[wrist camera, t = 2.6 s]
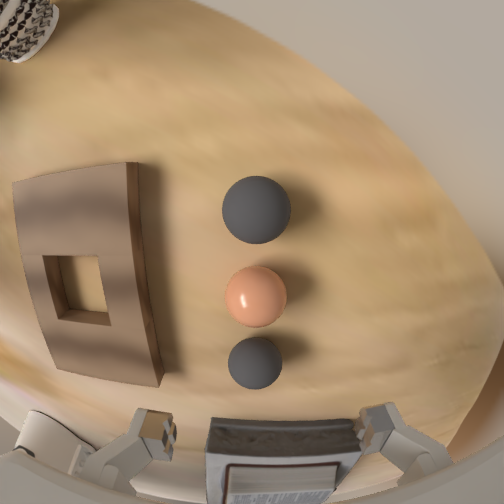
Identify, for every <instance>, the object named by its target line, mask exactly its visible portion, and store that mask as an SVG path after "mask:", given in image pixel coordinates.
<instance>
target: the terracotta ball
mask: <svg viewBox="0 0 504 504" xmlns="http://www.w3.org/2000/svg"><path fill="white" fill-rule="evenodd" d="M286 301H287V293H286V288H285V285H284V283H283V281H282V280H281V278H280V277H279V276H278V275H277V274H276V273H275V272H274V271H272V270H270V269H268V268H265V267H261V266H251V267H247V268H244V269H242V270H240V271H238V272H237V273H236V274H234V275H233V277H232V278H231V279H230V281H229V282H228V284H227V287H226V290H225V303H226V307H227V310H228V312H229V313H230V315H231V316H232V317H233V318H234V319H235V320H236V321H237V322H239V323H240V324H242V325H244V326H247V327H252V328H260V327H264V326H267V325H270V324H271V323H273V322H274V321H276V320H277V319H278V318H279V317H280V316H281V314H282V313H283V311H284V309H285V306H286Z"/></svg>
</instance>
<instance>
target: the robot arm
mask: <svg viewBox="0 0 504 504" xmlns="http://www.w3.org/2000/svg"><path fill="white" fill-rule="evenodd" d="M359 414H360V417H358V418H357V419H356V422H355V433H356V436H357V438H359V439H360V440H361V442H360V444H359V445H360V448H361V451H362V454H363V455H366V454H371V453H376V452H380V453H381V454H382V455H383V456H384V457H386V458H387V459H388V460H389V461H391V462H392V463H393V464H394V465H395V466H397V467H398V468H399V469H400V470H402V471H403V472H404V474H403V475H402V476H401V477H400V479H399V480H398V482H397V483H398V487H394V488H391V489H388V490H385V491H381V492H378V493H374V494H370V495H366V496H362V497H358V498H354V499H349V500H345V501H340V502H334V503H329V504H504V435H503V436H501V437H499V438H498V439H496V440H495V441H493V442H492V443H490V444H488V445H487V446H485V447H483V448H482V449H480V450H478V451H477V452H475V453H473V454H471V455H469V456H468V457H466V458H464V459H462V460H460V461H458V462H456V463H453V461H452V459H451V457H450V455H449V453H448V452H447V450H446V448H445V446H444V445H443V444H441V443H439V442H437V441H436V440H434V439H432V438H430V437H428V436H427V435H425V434H423V433H421V432H420V431H418V430H416V429H414V428H413V427H411V426H409V425H408V426H406V425H405V423H404V421H403V419H402V417H401V415H400V413H399V411H398V409H397V407H396V406H395V404H394V403H393V402H388V403H384V404H378V405H373V406H368V407H363V408H361V410H360V412H359ZM172 421H173V416H172V413H167V412H161V411H154V410H149V409H143V408H138V409H137V410H136V411H135V414H134V416H133V419H132V422H131V424H130V427H129V429H128V432H127V434H123V435H121V436H120V437H118V438H117V439H115V440H114V441H112V442H111V443H109V444H107V445H106V446H104V447H103V448H101V449H100V450H98V451H95V449H94V448H93V447H92V446H90V445H89V444H87V443H85V442H84V441H82V440H80V439H79V438H77V437H76V436H75V435H74V434H72V433H71V432H70V431H69V430H67V429H66V428H65V427H63V426H62V425H61V424H59V423H58V422H56V421H55V420H53V419H51V418H50V417H48V416H46V415H44V414H42V413H39V412H36V411H29V412H28V414H27V418H26V419H25V421H24V426H23V429H22V431H21V433H20V435H19V437H18V440H17V442H16V445H15V449H14V450H13V451H11V452H9V453H6V454H4V455H1V456H0V504H170V503H165V502H159V501H154V500H150V499H145V498H141V497H137V496H136V490H135V489H134V488H133V487H132V485H131V484H130V483H129V481H130V480H131V479H132V478H133V477H134V476H136V475H137V474H138V473H139V472H140V471H141V470H142V469H143V468H144V467H145V466H147V465H148V464H149V463H150V462H151V461H152V459H157V460H164V461H171V459H172V454H173V447H172V444H174V443H175V441H176V434H177V430H176V425H175V423H174V422H172Z"/></svg>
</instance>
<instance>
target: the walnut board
mask: <svg viewBox="0 0 504 504" xmlns="http://www.w3.org/2000/svg"><path fill="white" fill-rule="evenodd" d="M12 186H13V200H14V211H15V220H16V227H17V234H18V241H19V246H20V252H21V257H22V262H23V267H24V271H25V276H26V280H27V284H28V288H29V291H30V295H31V299H32V302H33V305H34V309H35V312H36V315H37V318H38V321H39V324H40V327H41V330H42V333H43V336H44V338H45V341H46V344H47V346H48V349H49V351H50V354H51V356H52V358H53V361H54V363H55V365H56V368H57V369H60V370H63V371H67V372H71V373H76V374H80V375H84V376H89V377H94V378H99V379H104V380H109V381H115V382H121V383H127V384H133V385H140V386H148V387H156V388H159V386H160V383H161V380H162V378H163V375H164V370H163V366H162V362H161V357H160V352H159V348H158V343H157V338H156V333H155V327H154V322H153V316H152V311H151V304H150V298H149V292H148V285H147V277H146V270H145V262H144V253H143V243H142V233H141V220H140V206H139V187H138V162H125V163H117V164H109V165H101V166H94V167H88V168H82V169H75V170H70V171H64V172H59V173H53V174H48V175H44V176H39V177H34V178H30V179H25V180H21V181H17V182H13V183H12ZM57 255H76V256H98V262H99V268H100V274H101V280H102V285H103V290H104V295H105V300H106V304H107V309H108V313H105V312H94V311H84V310H75V309H69V306H68V302H67V298H66V294H65V290H64V286H63V282H62V277H61V272H60V267H59V262H58V257H57Z"/></svg>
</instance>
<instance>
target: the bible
mask: <svg viewBox="0 0 504 504" xmlns="http://www.w3.org/2000/svg"><path fill="white" fill-rule="evenodd" d="M353 426H354V423H353V422H352V421H351V420H349V419H334V420H330V419H329V420H315V421H257V420H240V419H227V418H215V417H212V418H211V424H210V430H209V434H208V438H207V442H206V446H205V467H206V468H205V473H206V474H205V477H206V496H207V504H321V503H323V502H324V501H326V500H327V499H328V498H329V496H330V495H331V494H332V493H333V492H334V491H335V490H336V489H337V488H336V487H337V486H338V485H339V484H340V483H341V482H342V480H343V479H344V478H345V477H346V475H347V474H348V473H349V471H350V470H351V469H352V467H353V466H354V465H355V463H356V462H357V461H358V459H359V458H360V456H361V455H362V451H361V448H360V445H359V444H360V441H359V438H357V436H356V433H355V432H354V431H353V430H352V428H353Z"/></svg>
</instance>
